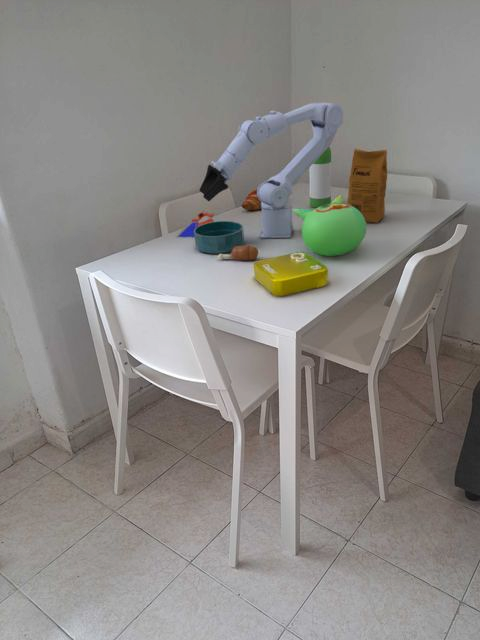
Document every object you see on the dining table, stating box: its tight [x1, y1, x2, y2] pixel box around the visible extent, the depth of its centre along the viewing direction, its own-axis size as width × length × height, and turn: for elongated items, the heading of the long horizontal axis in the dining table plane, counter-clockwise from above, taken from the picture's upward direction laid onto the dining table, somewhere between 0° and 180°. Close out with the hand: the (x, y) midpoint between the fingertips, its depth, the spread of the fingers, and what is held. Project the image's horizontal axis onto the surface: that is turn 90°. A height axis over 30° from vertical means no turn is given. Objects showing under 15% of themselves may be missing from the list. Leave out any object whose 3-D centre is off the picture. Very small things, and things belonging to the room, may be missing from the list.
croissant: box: [241, 188, 262, 211], centre depth 187 cm, size 21×10×8 cm, turn 141°
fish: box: [177, 210, 214, 238], centre depth 166 cm, size 13×5×9 cm
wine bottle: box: [308, 146, 332, 209], centre depth 176 cm, size 8×8×30 cm
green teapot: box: [292, 194, 367, 257], centre depth 137 cm, size 18×17×15 cm
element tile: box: [253, 251, 329, 297], centre depth 125 cm, size 15×15×5 cm
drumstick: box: [217, 245, 259, 261], centre depth 140 cm, size 12×4×4 cm, turn 81°
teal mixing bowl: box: [194, 220, 245, 255], centre depth 151 cm, size 15×15×6 cm
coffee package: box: [346, 148, 388, 224], centre depth 161 cm, size 10×12×22 cm
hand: (204, 196), depth 142 cm, fingers open, 7 cm apart
